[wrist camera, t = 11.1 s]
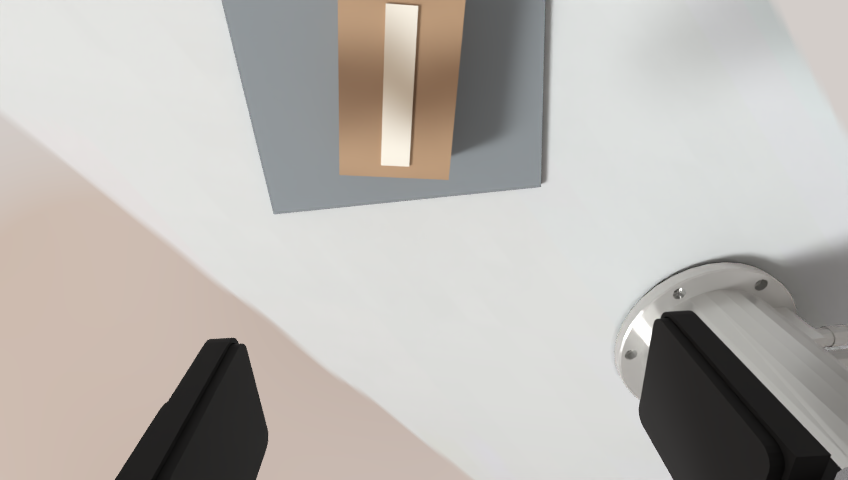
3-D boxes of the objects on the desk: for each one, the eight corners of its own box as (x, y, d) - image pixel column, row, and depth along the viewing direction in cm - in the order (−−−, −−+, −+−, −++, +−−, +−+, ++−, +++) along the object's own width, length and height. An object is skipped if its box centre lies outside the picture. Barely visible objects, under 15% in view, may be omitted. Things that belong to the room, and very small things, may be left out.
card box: (442, 159, 28) (449, 180, 24) (345, 154, 27) (339, 175, 24) (456, -6, 24) (466, -8, 21) (344, -15, 24) (337, -18, 20)
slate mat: (545, -92, 23) (547, -94, 23) (539, 184, 29) (540, 186, 29) (209, -61, 23) (206, -62, 22) (275, 211, 29) (273, 214, 29)
